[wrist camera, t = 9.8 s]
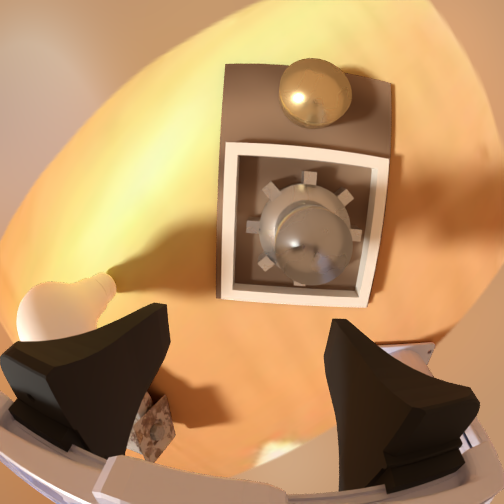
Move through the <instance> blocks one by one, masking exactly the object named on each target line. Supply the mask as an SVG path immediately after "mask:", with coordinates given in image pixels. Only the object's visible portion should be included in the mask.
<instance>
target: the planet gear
mask: <svg viewBox="0 0 504 504" xmlns="http://www.w3.org/2000/svg"><path fill="white" fill-rule="evenodd" d="M316 181H317V172H309V171H302V177H301V183H297V184H292V185H289V186H286V187H284V188H282V189H280V190H279V189H278V188H277V186H276V185H275V184H274V183H273V182H272V181H271V182H269V183H268V184H267V185H266V186H265V187H264V188H263V189H262V191H263V192H264V193H265V194H266V195H267V197H268V198H269V200H268V202H267V203H266V205H265V207H264V209H263V211H262V215H261V217H248V219H247V226H246V233H255V234H259V237H260V242H261V245H262V248H263V250H264V252H263V253H262V254H261V255H260V256H258V262H257V264H258V265H259V266H260V267H261V268H262V269H263V270H264V271H265V272H266V271H267V270H268V269H270V268H271V267H272V266H273V265H274V264H275V265H276V266H278V267H279V268H281V269H282V271H283V272H284V273H285V274H286V275H287V276H288V277H289V278H291V279H292V280H293V283H294V285H297V286H305V285H321V284H325V283H327V282H330V281H332V280H333V279H335V278H336V277H338V276H339V275H340V274H341V273H342V272H343V271H344V270H345V268H346V267H347V265H348V263H349V261H350V259H351V256H352V251H353V241H358V242H360V241H361V235H362V230H361V229H360V228H359V227H357V226H356V225H350V219H349V216H348V213H347V210H346V208H345V206H346V205H347V204H348V203H349V202H351V201H352V200H353V199H354V198H353V196H352V195H351V194H350V192H349V191H348V190H347V189H346V188H342V187H341V188H339V189H338V190H337V191H336V192H335V193H334V194H333V193H332V192H330V191H329V190H327V189H325V188H323V187H320V186H317V185H316Z"/></svg>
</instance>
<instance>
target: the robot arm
mask: <svg viewBox="0 0 504 504" xmlns="http://www.w3.org/2000/svg"><path fill="white" fill-rule="evenodd" d="M170 342H171V341H170V333H169V324H168V314H167V304H160V303H152V304H150V305H147V306H145V307H143V308H141V309H139V310H137V311H135V312H133V313H131V314H129V315H127V316H125V317H123V318H121V319H119V320H117V321H114V322H112V323H110V324H108V325H105V326H103V327H100V328H98V329H95V330H92V331H89V332H86V333H83V334H79V335H75V336H70V337H66V338H61V339H54V340H46V341H17V342H16V343H14V344H13V345H12V346H11V347H10V348H9V349H7V350H6V351H5V352H4V353H3V354H2V355H1V356H0V365H1V368H2V371H3V373H4V375H5V377H6V379H7V381H8V383H9V384H10V386H11V388H12V390H13V392H14V393H15V395H16V397H17V399H16V401H15V402H13V401H12V400H11V399H10V398H9V397H8V396H7V395H5V394H4V393H3V392H1V391H0V461H1V462H2V463H4V464H5V465H6V466H7V467H8V468H9V469H10V470H12V471H13V472H14V473H15V474H16V475H18V476H19V477H20V478H21V479H23V480H24V481H25V482H26V483H28V484H29V485H30V486H32V487H33V488H34V489H36V490H37V491H39V492H40V493H41V494H43V495H44V496H46V497H47V498H49V499H50V500H52V501H53V502H55V503H56V504H490V503H491V501H492V500H493V498H494V496H495V495H497V494H498V493H499V492H500V491H501V490H503V489H504V471H503V468H502V465H501V463H500V461H499V459H498V454H497V452H496V450H495V448H494V446H493V444H492V442H491V440H490V438H489V436H488V435H487V433H486V431H485V430H484V428H483V426H482V425H481V423H480V421H479V420H478V419H477V417H476V416H477V413H478V411H479V408H480V402H479V401H478V399H477V398H476V396H475V394H474V393H473V391H472V390H471V388H470V387H466V386H462V385H457V384H453V383H449V382H445V381H443V380H439V379H436V378H434V376H433V375H432V373H431V372H430V370H429V368H428V367H427V364H428V362H429V360H430V358H431V355H432V353H433V351H434V348H435V344H434V343H433V342H426V343H413V344H396V345H376V344H375V343H374V342H373V341H371V340H370V339H369V338H368V337H367V336H366V335H364V334H363V333H362V332H361V331H360V330H359V329H357V328H356V327H355V326H354V325H353V324H352V323H350V322H349V321H348V320H347V319H332V323H331V328H330V332H329V336H328V341H327V345H326V349H325V353H324V364H325V373H326V378H327V383H328V387H329V391H330V395H331V399H332V403H333V407H334V411H335V416H336V422H337V432H338V445H339V492H330V493H317V494H289V495H288V494H286V492H285V491H284V490H282V489H280V488H278V487H275V486H273V485H270V484H268V483H262V482H256V481H250V480H243V479H234V478H225V477H218V476H211V475H205V474H200V473H194V472H189V471H184V470H180V469H175V468H171V467H167V466H163V465H159V464H156V463H152V462H149V461H145V460H142V459H139V458H134V457H129V456H125V451H126V448H127V444H128V440H129V437H130V433H131V430H132V427H133V424H134V421H135V418H136V415H137V413H138V410H139V407H140V405H141V402H142V400H143V398H144V396H145V394H146V392H147V390H148V388H149V386H150V385H151V383H152V381H153V379H154V377H155V375H156V374H157V372H158V370H159V368H160V366H161V364H162V363H163V361H164V359H165V356H166V353H167V351H168V348H169V345H170ZM429 350H430V351H429ZM428 351H429V352H428Z"/></svg>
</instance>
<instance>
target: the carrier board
mask: <svg viewBox="0 0 504 504" xmlns="http://www.w3.org/2000/svg"><path fill="white" fill-rule="evenodd" d="M288 67H289V66H286V65H270V64H225V76H224V88H223V102H222V117H221V134H220V152H219V175H218V202H217V244H216V298H219V299H221V263H222V220H223V190H224V166H225V146H226V142H236V143H261V144H278V145H291V146H302V147H312V148H321V149H329V150H337V151H344V152H351V153H358V154H364V155H370V156H375V157H381V158H386V159H389V167H390V150H391V83H388V82H384V81H380V80H376V79H372V78H367V77H363V76H358V75H353V74H348V73H344V74H345V76H346V77H347V79H348V81H349V83H350V86H351V90H352V99H351V103H350V106H349V108H348V110H347V111H346V112H345V114H343V115H342V116H341V117H340V118H339V119H337V120H336V121H335V122H333V123H332V124H330V125H329V126H327V127H324V128H321V129H307V128H303V127H300V126H298V125H296V124H294V123H293V122H291V121H290V120H289V119H288V118H287V117H286V116H285V114H284V113H283V111H282V109H281V107H280V104H279V87H280V80H281V77H282V75H283V73H284V71H285V70H286V69H287V68H288ZM302 171H309V172H317V181H316V185H317V186H320V187H323V188H325V189H327V190H329V191H330V192H332V193H333V194H334V193H335V192H336V191H337V190H338V189H339V188H341V187H342V188H346V189H347V190H348V191H349V192H350V194H351V195H352V196H353V198H354V199H353V200H352V201H351V202H349V203H348V204H347V205H346V206H345V208H346V210H347V213H348V216H349V219H350V225H356V226H357V227H359V228H360V229H361V230H362V235H361V241H360V242H358V241H353V251H352V256H351V259H350V261H349V263H348V265H347V267H346V268H345V270H344V271H343V272H342V273H341V274H340V275H339V276H338V277H336V278H335V279H333V280H332V281H330V282H327V283H325V284H321V285H305V286H297V285H294V283H293V280H292V279H291V278H289V277H288V276H287V275H286V274H285V273H284V272H283V271H282V269H281V268H279V267H278V266H276V265H275V264H274V265H273V266H272V267H271V268H270V269H268V270H267V271H266V272H265V271H264V270H263V269H262V268H261V267H260V266H259V265H258V264H257V262H258V256H260V255H261V254H262V253H263V252H264V250H263V248H262V245H261V242H260V237H259V234H255V233H246V226H247V219H248V217H261V215H262V211H263V209H264V207H265V205H266V203H267V202H268V200H269V198H268V197H267V195H266V194H265V193H264V192H263V191H262V189H263V188H264V187H265V186H266V185H267V184H268V183H269V182H271V181H272V182H273V183H274V184H275V185H276V186H277V188H278V189H279V190H280V189H282V188H284V187H286V186H289V185H292V184H297V183H301V177H302ZM371 173H372V169H371V168H364V167H358V166H351V165H344V164H336V163H328V162H319V161H309V160H299V159H287V158H273V157H256V156H240V162H239V183H238V205H237V229H236V256H235V283H238V284H251V285H264V286H278V287H293V288H310V289H328V290H348V291H355V287H356V282H357V277H358V272H359V266H360V260H361V254H362V248H363V242H364V235H365V228H366V221H367V213H368V204H369V195H370V185H371ZM388 180H389V170H388ZM387 191H388V182H387ZM386 200H387V192H386ZM385 208H386V202H385ZM384 216H385V210H384ZM383 223H384V218H383ZM382 230H383V225H382ZM381 237H382V232H381ZM380 243H381V238H380ZM379 249H380V244H379ZM378 254H379V250H378ZM377 260H378V256H377ZM376 265H377V261H376ZM375 270H376V266H375ZM374 275H375V271H374ZM373 280H374V276H373ZM372 285H373V281H372ZM371 289H372V286H371ZM370 293H371V290H370ZM369 298H370V295H369ZM368 302H369V299H368ZM367 306H368V303H367Z"/></svg>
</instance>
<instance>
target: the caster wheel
mask: <svg viewBox="0 0 504 504" xmlns="http://www.w3.org/2000/svg"><path fill="white" fill-rule="evenodd" d="M175 435H176V434H175V430H174V426H173V422H172V418H171V414H170V410H169V405H168V401H167V397H166V395H164V396H163V397H162V398H161V399H160V400H159V401H158V402H157V403H156V404H155V405H153V402H152V399H151V397H150V395H149V394H148V392H146V394H145V396H144V398H143V400H142V402H141V405H140V407H139V410H138V413H137V415H136V418H135V421H134V424H133V427H132V430H131V433H130V437H129V440H128V444H127V449H130V450H132V451H135V452H137V453H140V454H142V455H143V456H144V458H145V461H149V462H152V463H154V462H155V461H156V460H157V459H158V457H159V456H160V455H161V454H162V452H163V451H164V450H165V449H166V447H167V446H168V445H169V444H170V442H171V441H172V440H173V438H174V437H175Z"/></svg>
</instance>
